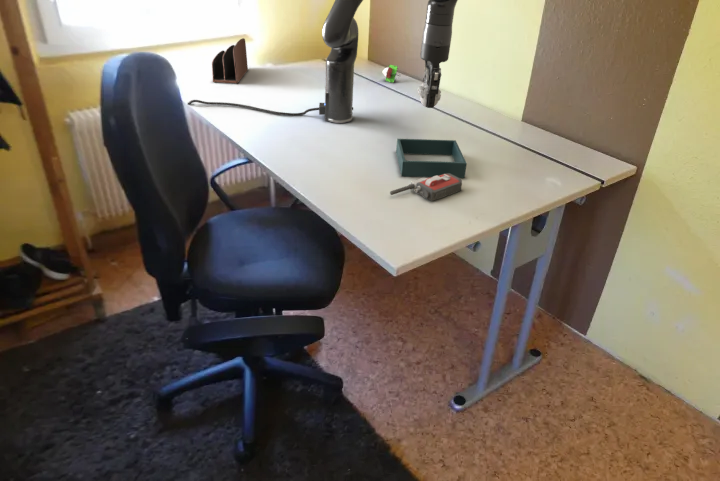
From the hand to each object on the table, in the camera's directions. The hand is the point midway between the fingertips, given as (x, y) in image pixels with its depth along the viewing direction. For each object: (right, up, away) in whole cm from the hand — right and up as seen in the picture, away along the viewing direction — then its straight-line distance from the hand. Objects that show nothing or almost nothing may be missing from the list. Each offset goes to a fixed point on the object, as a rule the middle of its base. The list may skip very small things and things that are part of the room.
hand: (428, 103), depth 153 cm
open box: (+1, -16, +6) cm, 17 cm away
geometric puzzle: (-6, +28, +76) cm, 81 cm away
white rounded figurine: (0, -1, +1) cm, 1 cm away
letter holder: (-72, +29, +71) cm, 105 cm away
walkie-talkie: (-1, -26, -10) cm, 28 cm away
